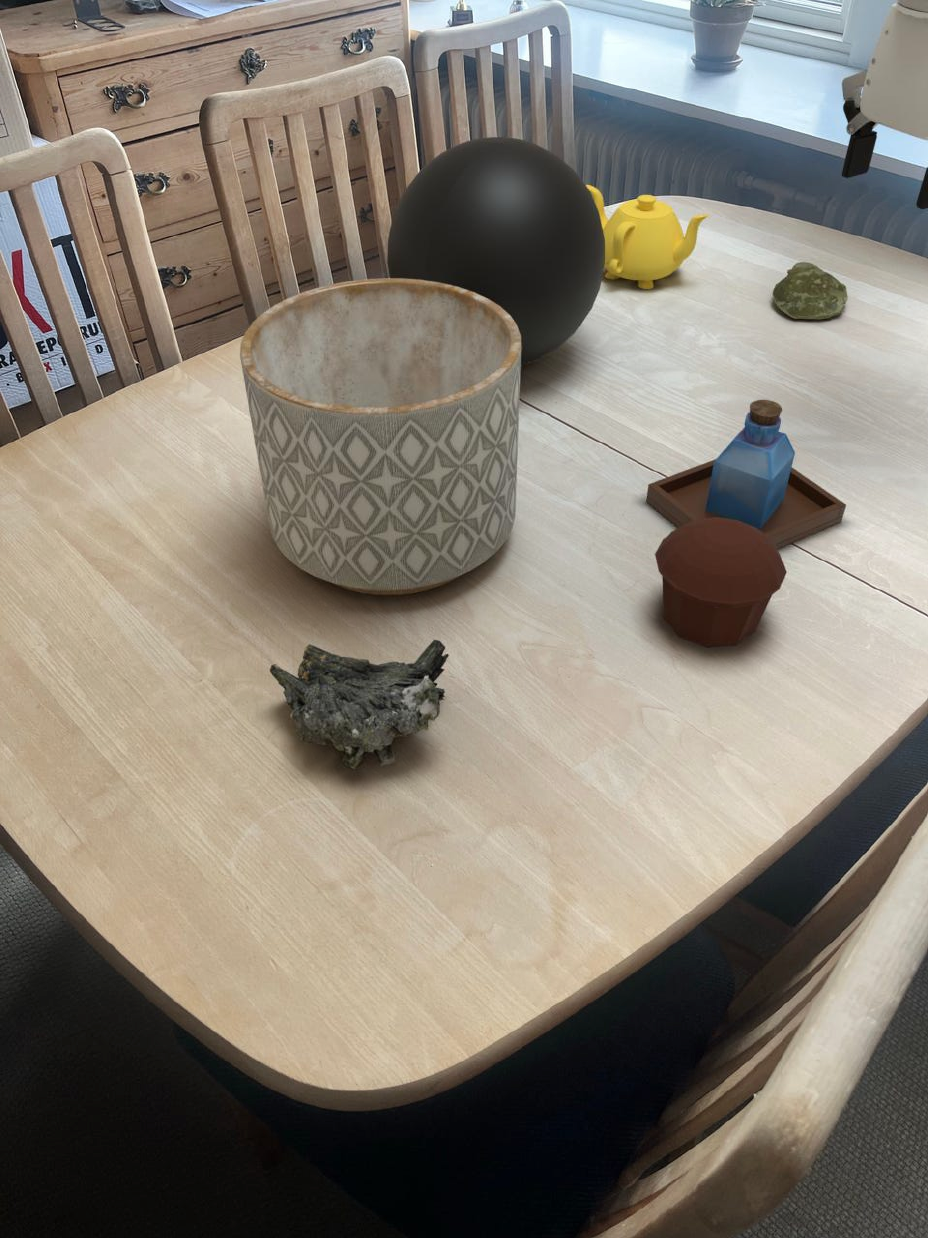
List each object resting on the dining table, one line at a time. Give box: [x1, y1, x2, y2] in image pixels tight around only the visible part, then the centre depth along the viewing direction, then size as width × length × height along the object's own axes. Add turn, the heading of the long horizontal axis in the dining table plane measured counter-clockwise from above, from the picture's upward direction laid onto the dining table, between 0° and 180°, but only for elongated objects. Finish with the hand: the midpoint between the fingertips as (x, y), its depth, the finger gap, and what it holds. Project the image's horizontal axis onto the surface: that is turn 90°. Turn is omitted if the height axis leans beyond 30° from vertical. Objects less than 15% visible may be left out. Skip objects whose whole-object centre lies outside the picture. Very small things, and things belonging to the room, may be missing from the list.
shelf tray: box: [645, 458, 847, 550], centre depth 108 cm, size 16×14×2 cm
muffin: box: [654, 517, 788, 649], centre depth 94 cm, size 12×11×10 cm
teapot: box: [585, 184, 710, 290], centre depth 148 cm, size 20×15×12 cm
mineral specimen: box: [269, 639, 450, 770], centre depth 85 cm, size 15×13×10 cm
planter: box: [239, 277, 522, 596], centre depth 99 cm, size 26×26×22 cm
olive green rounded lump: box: [772, 261, 849, 320], centre depth 144 cm, size 10×7×10 cm
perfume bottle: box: [705, 399, 796, 530], centre depth 105 cm, size 6×6×12 cm
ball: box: [386, 136, 605, 367], centre depth 125 cm, size 27×27×27 cm
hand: (890, 189), depth 101 cm, fingers open, 9 cm apart
